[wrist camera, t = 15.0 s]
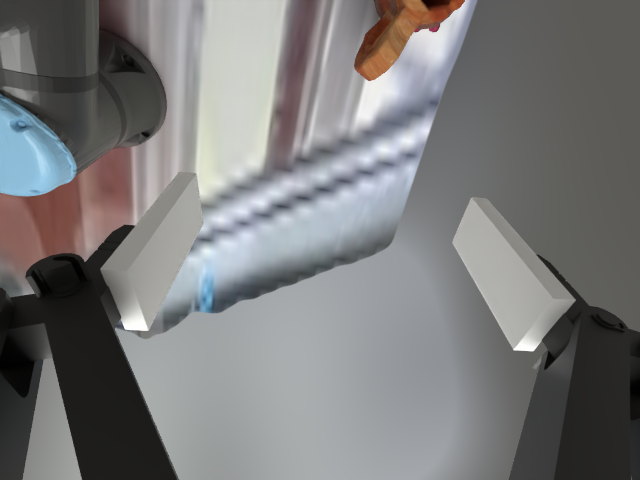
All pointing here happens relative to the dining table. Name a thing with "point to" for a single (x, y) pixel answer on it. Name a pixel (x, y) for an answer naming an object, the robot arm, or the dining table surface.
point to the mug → (398, 31)
